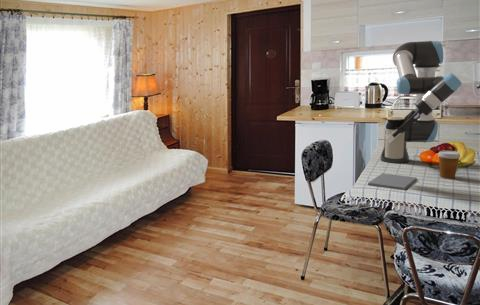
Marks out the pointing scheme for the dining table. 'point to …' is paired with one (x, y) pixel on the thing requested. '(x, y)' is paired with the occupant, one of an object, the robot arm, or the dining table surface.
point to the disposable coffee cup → (448, 163)
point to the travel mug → (397, 145)
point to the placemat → (392, 181)
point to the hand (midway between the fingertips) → (386, 139)
